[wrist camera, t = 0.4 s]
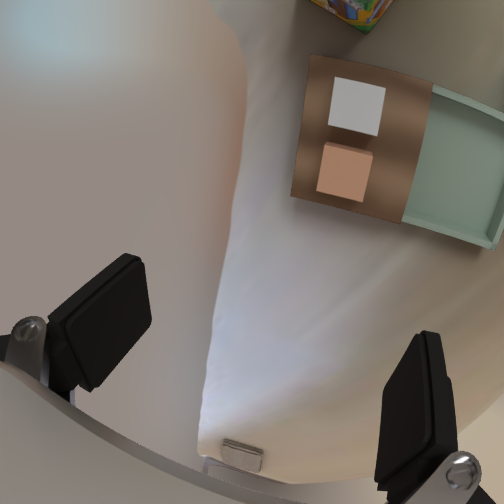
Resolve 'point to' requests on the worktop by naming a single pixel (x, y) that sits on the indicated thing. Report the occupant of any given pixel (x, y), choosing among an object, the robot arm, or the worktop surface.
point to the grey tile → (356, 106)
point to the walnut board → (364, 136)
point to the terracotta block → (344, 171)
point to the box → (460, 171)
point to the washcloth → (241, 455)
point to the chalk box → (357, 11)
